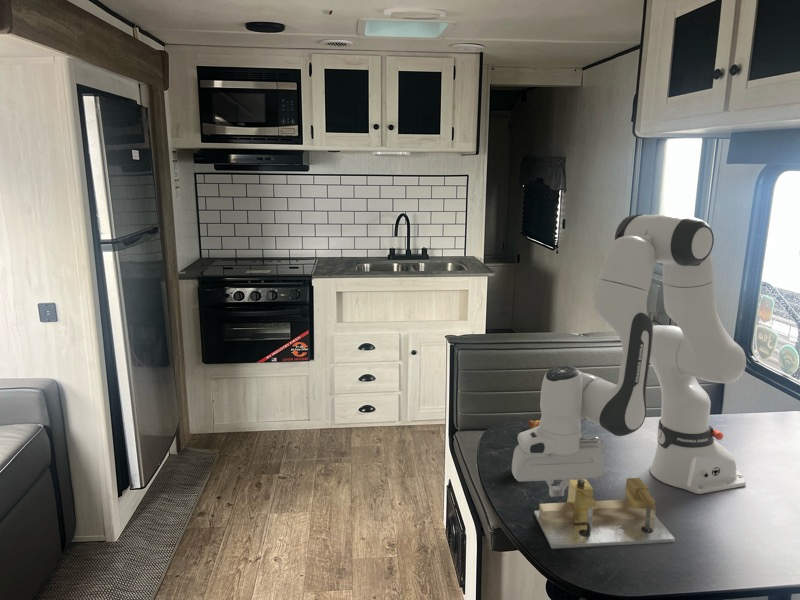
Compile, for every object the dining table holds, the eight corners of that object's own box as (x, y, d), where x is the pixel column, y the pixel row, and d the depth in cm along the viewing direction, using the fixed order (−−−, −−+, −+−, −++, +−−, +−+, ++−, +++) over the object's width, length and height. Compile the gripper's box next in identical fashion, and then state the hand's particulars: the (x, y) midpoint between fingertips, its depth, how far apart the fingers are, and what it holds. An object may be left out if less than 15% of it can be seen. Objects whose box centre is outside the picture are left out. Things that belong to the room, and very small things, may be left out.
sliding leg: (583, 508, 138) (585, 475, 136) (599, 533, 128) (601, 497, 126) (566, 509, 137) (568, 475, 135) (581, 534, 128) (583, 498, 126)
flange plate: (646, 508, 139) (646, 504, 139) (674, 541, 127) (675, 538, 127) (534, 513, 138) (534, 510, 138) (551, 548, 125) (551, 544, 125)
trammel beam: (647, 508, 138) (649, 477, 136) (666, 531, 129) (669, 499, 127) (538, 513, 137) (539, 482, 135) (550, 538, 128) (551, 504, 126)
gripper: (599, 430, 134) (595, 485, 137) (510, 434, 133) (509, 489, 136) (610, 443, 128) (606, 500, 131) (518, 447, 126) (516, 504, 129)
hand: (556, 495), depth 133 cm, fingers closed
